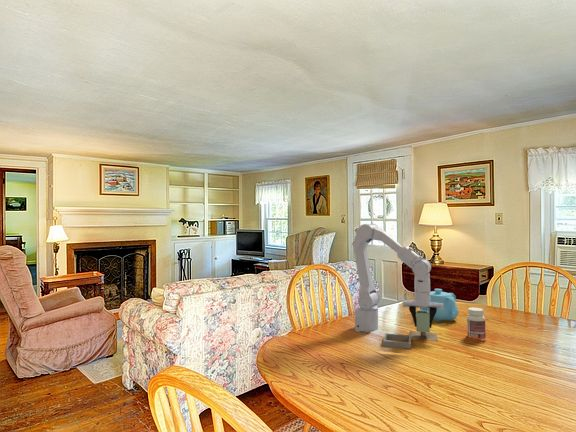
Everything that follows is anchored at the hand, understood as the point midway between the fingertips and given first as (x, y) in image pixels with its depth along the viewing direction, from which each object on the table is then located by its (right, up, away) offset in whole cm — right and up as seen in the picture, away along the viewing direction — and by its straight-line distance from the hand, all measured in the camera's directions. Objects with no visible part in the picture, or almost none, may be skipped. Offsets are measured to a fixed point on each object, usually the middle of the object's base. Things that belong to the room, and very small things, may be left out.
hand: (423, 326), depth 140 cm
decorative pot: (+17, -5, +27) cm, 32 cm away
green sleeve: (0, -1, 0) cm, 1 cm away
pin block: (0, -5, 0) cm, 4 cm away
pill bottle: (+20, -4, -2) cm, 20 cm away
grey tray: (-12, -5, -7) cm, 15 cm away
